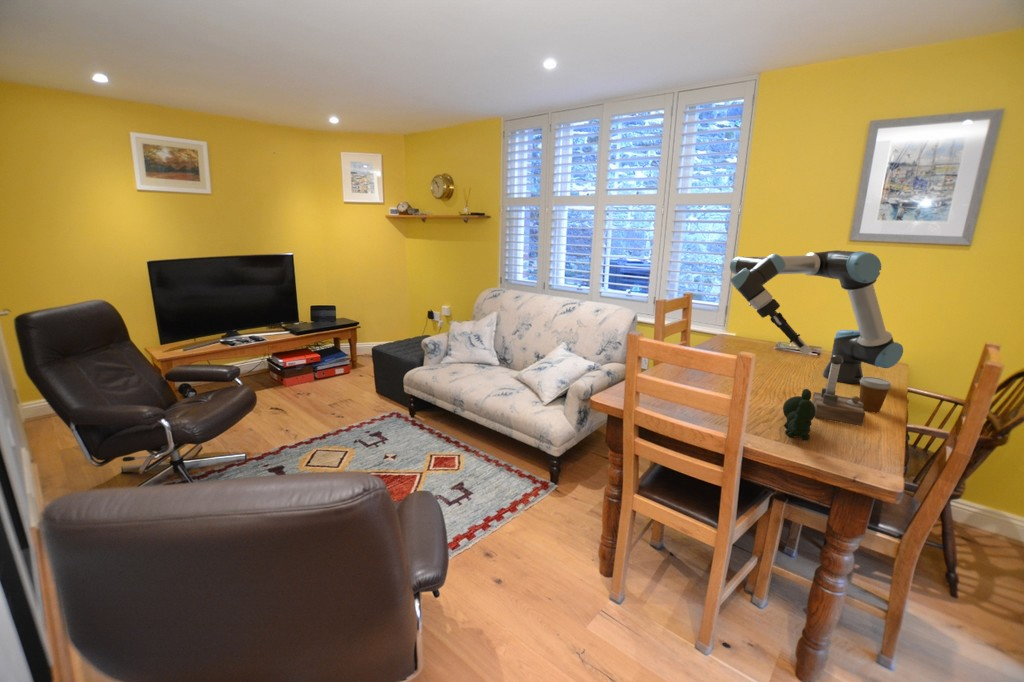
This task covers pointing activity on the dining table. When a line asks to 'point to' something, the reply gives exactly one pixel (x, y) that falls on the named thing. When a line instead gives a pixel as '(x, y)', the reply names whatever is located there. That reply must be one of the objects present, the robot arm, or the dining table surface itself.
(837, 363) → the lever
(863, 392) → the disposable coffee cup
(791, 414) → the toy figurine
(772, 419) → the dining table surface
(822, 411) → the base
